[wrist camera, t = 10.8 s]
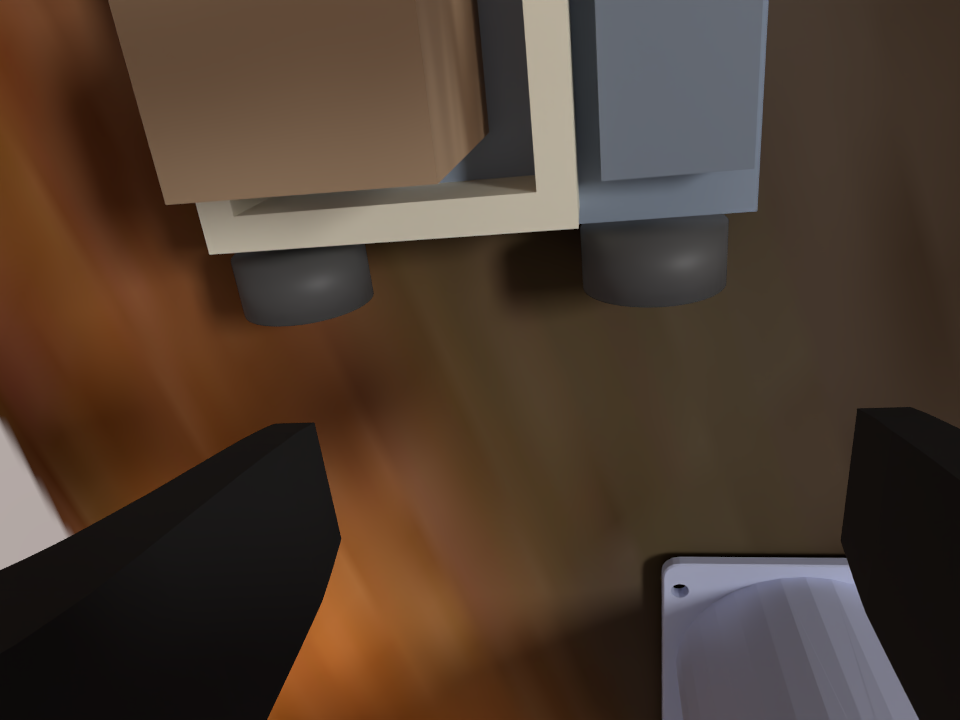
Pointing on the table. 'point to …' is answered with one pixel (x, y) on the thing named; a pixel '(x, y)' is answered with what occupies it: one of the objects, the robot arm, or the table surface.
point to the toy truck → (551, 161)
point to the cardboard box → (303, 93)
